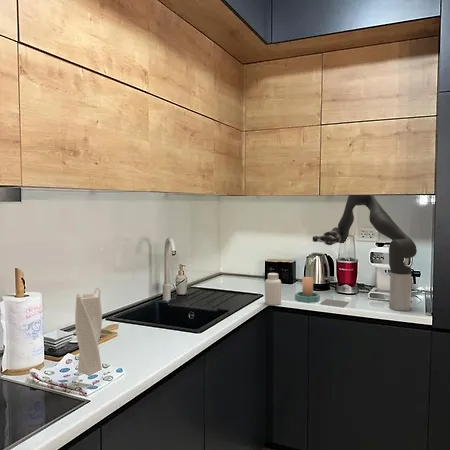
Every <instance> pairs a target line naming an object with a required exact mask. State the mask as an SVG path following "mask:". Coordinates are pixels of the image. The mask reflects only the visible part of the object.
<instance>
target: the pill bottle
mask: <svg viewBox="0 0 450 450" xmlns="http://www.w3.org/2000/svg"><path fill="white" fill-rule="evenodd" d="M264 292H265V293H264V303H265V305H269V306H278V305H281V304H282V281H281V279H279V273H277V272H269V273H267V279H265V280H264Z"/></svg>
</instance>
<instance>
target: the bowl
mask: <svg viewBox="0 0 450 450" xmlns="http://www.w3.org/2000/svg"><path fill="white" fill-rule="evenodd" d="M294 299H295V301H298V302H300V303H307V304H308V303H309V304H310V303H317V302H319V301H320V300H321V294H320V293H317V292H315V291H313V297H306V296H302V291H297V292H296V293H294Z"/></svg>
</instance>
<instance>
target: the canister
mask: <svg viewBox="0 0 450 450" xmlns="http://www.w3.org/2000/svg"><path fill="white" fill-rule="evenodd" d="M301 280H302V281H301V284H302V285H301V286H302V287H301V288H302V290H301V292H302V296H306V297H313V292H314V277H313V276H303V277H302V278H301Z"/></svg>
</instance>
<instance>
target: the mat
mask: <svg viewBox="0 0 450 450" xmlns="http://www.w3.org/2000/svg"><path fill="white" fill-rule="evenodd" d="M349 303H350V301H345V300H336V299H329V298H326V299H324V300H323V301H321V302H320V303H319V305H323V306H331V307H336V308H337V307H338V308H345V307H346V306H347V305H348V304H349Z"/></svg>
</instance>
